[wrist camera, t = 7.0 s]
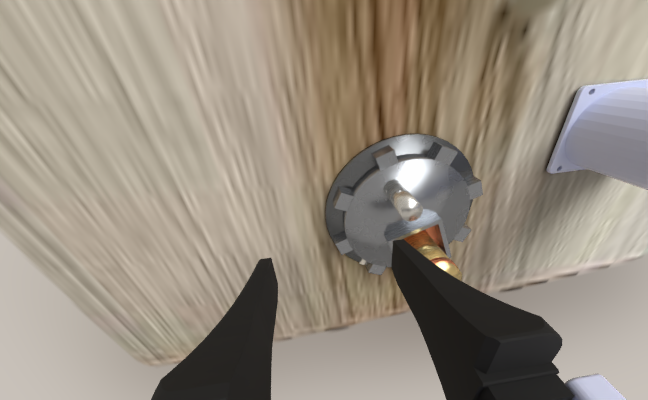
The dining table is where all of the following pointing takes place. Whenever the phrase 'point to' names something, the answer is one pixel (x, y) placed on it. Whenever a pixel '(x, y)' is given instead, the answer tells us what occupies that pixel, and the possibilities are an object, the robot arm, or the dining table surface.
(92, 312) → the dining table surface
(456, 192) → the grey toothed wheel
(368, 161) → the base flange
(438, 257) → the roller
